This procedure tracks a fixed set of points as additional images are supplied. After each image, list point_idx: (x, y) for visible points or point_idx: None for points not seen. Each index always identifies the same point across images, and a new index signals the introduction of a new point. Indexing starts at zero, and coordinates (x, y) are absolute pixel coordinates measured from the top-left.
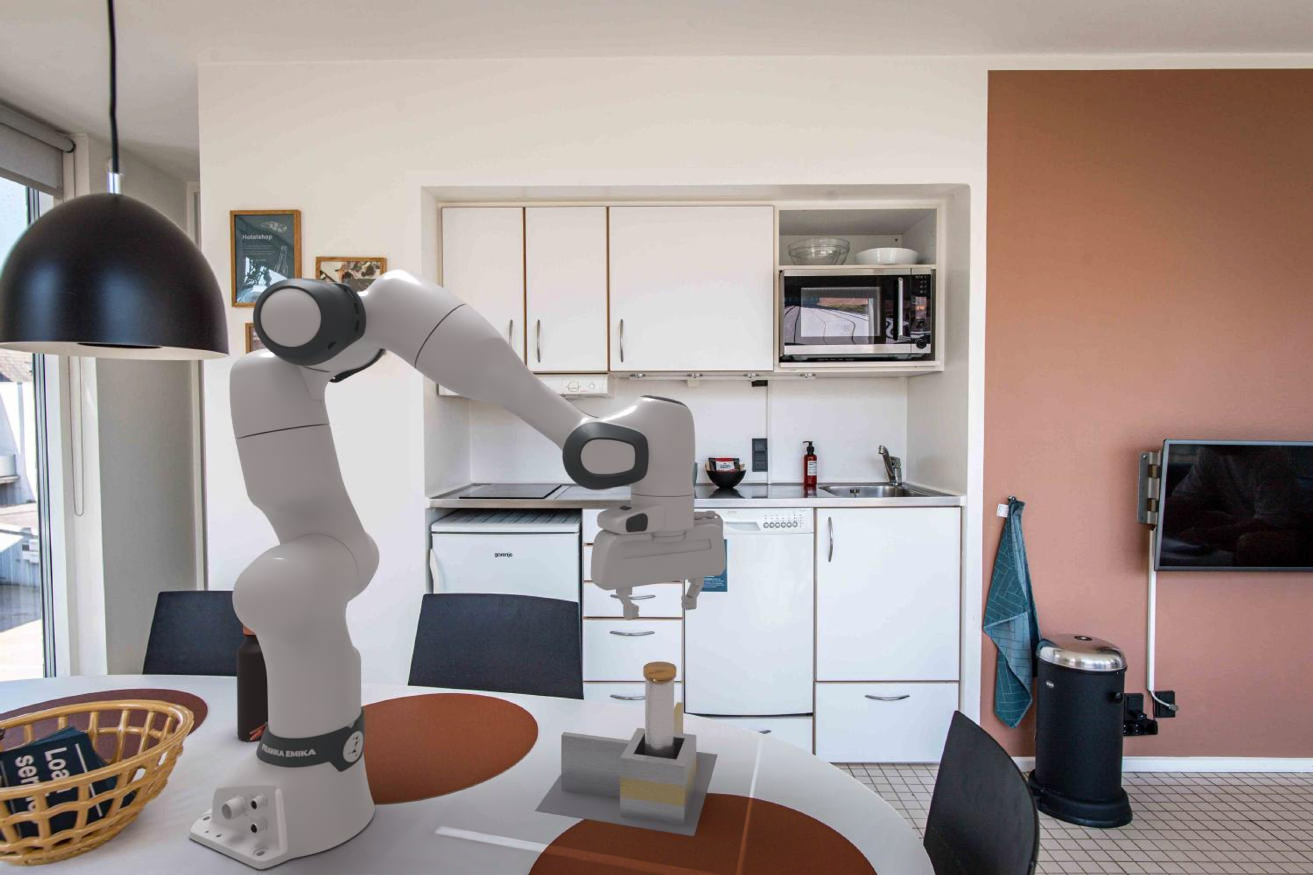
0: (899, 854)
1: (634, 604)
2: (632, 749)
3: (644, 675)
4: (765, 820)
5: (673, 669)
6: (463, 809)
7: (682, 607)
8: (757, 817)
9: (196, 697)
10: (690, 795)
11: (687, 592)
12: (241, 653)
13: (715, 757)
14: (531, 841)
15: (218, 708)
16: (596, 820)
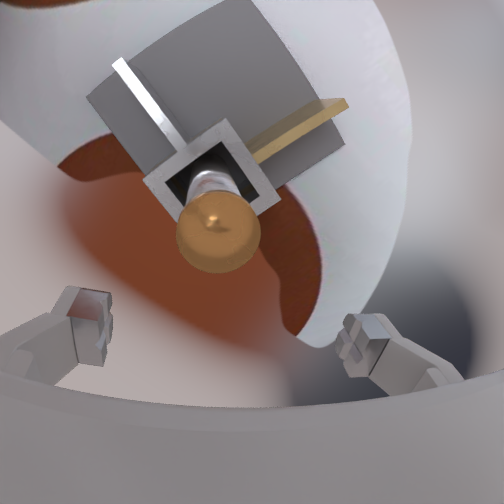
0: (321, 339)
1: (95, 341)
2: (171, 170)
3: (178, 219)
4: (285, 254)
5: (236, 263)
6: (46, 42)
7: (346, 318)
8: (284, 246)
9: None
10: None
11: (396, 346)
12: None
13: (337, 147)
14: (69, 131)
15: None
16: (129, 154)
